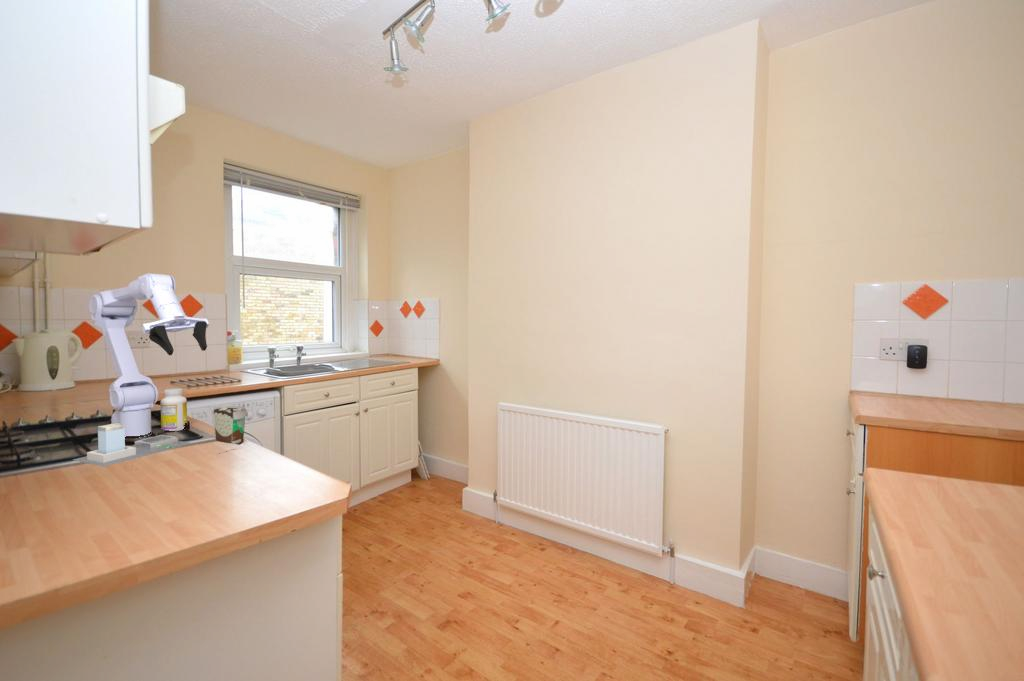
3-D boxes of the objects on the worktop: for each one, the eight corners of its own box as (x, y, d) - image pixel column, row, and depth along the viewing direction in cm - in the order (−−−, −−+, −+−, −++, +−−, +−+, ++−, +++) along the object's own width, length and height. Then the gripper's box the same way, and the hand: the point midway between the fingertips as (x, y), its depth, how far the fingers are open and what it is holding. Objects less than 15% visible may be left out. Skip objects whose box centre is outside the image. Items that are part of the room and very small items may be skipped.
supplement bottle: (181, 426, 147) (180, 387, 146) (191, 429, 144) (190, 389, 143) (156, 430, 141) (156, 389, 141) (167, 433, 138) (166, 392, 137)
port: (134, 447, 120) (134, 441, 120) (162, 441, 127) (162, 434, 127) (155, 451, 118) (155, 444, 118) (183, 444, 125) (183, 438, 124)
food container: (256, 443, 131) (256, 409, 131) (234, 448, 126) (234, 412, 125) (234, 436, 138) (234, 403, 137) (212, 440, 132) (212, 406, 132)
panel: (72, 463, 110) (72, 459, 110) (162, 441, 130) (162, 438, 130) (104, 470, 106) (104, 466, 106) (192, 446, 126) (192, 443, 126)
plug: (98, 458, 112) (97, 426, 111) (117, 453, 115) (116, 423, 115) (106, 460, 111) (105, 427, 110) (125, 455, 114) (124, 424, 114)
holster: (87, 459, 111) (86, 452, 110) (120, 451, 117) (120, 444, 117) (103, 462, 109) (103, 455, 108) (136, 454, 115) (135, 447, 115)
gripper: (139, 302, 113) (158, 345, 110) (203, 299, 125) (222, 338, 122) (133, 319, 117) (152, 362, 114) (196, 314, 129) (215, 353, 126)
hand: (188, 350), depth 118 cm, fingers open, 7 cm apart
